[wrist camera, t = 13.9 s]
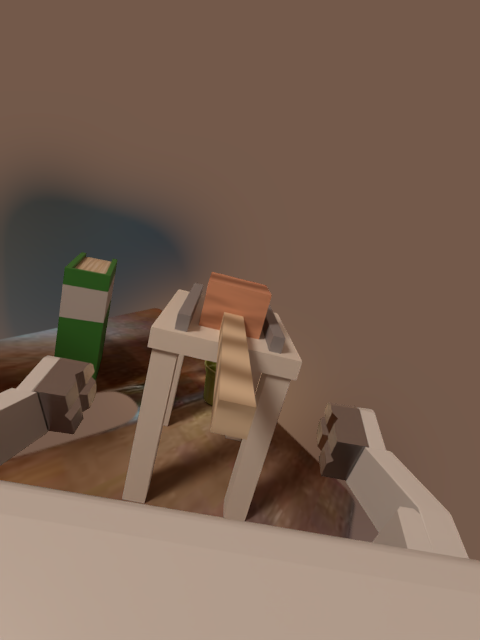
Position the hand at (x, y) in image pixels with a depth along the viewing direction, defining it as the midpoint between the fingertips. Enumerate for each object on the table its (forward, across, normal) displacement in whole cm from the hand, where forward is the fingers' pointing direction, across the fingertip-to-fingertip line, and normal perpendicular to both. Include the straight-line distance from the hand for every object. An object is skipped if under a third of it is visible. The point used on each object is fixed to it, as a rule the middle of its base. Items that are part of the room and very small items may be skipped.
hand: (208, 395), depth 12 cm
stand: (+25, -3, -43) cm, 50 cm away
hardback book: (+44, -32, -46) cm, 71 cm away
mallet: (+20, 0, -15) cm, 25 cm away
